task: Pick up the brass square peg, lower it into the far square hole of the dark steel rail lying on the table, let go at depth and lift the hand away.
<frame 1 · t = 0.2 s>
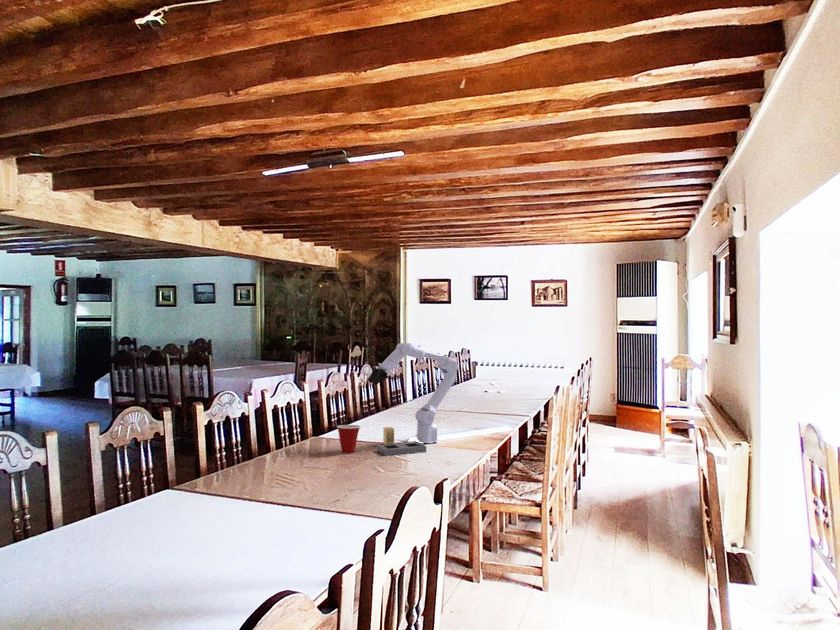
hand: (371, 382, 256), 30 cm above the table, tool tilted 45°, fingers open, 7 cm apart
brass peg: (388, 444, 261), on the table
steel rail: (401, 451, 247), on the table
plastic cup: (348, 452, 246), on the table
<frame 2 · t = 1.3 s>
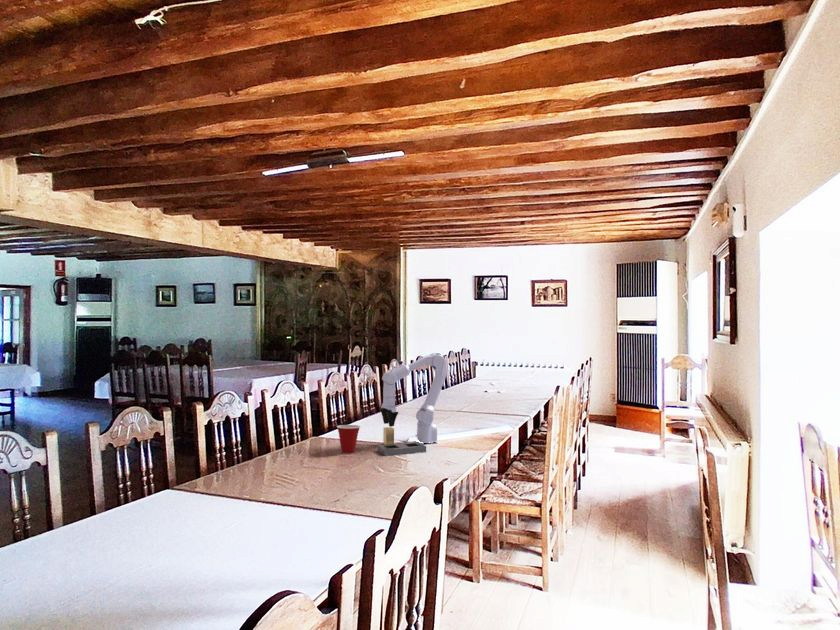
hand: (388, 424, 261), 9 cm above the table, tool pointing down, fingers open, 7 cm apart
nothing on the table moved.
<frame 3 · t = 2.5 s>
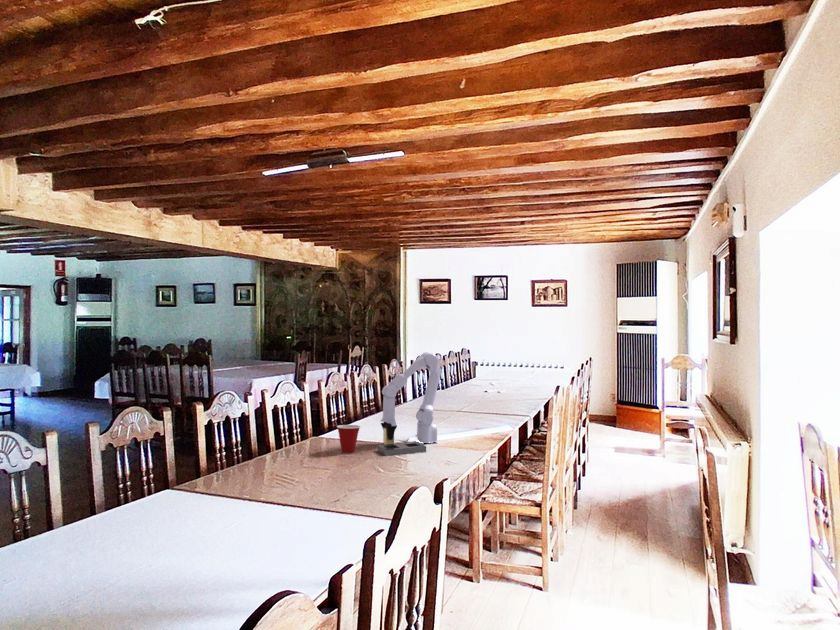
hand: (388, 438, 261), 3 cm above the table, tool pointing down, fingers closed on brass peg, 4 cm apart
brass peg: (388, 444, 261), on the table, touching gripper
everything else where it was.
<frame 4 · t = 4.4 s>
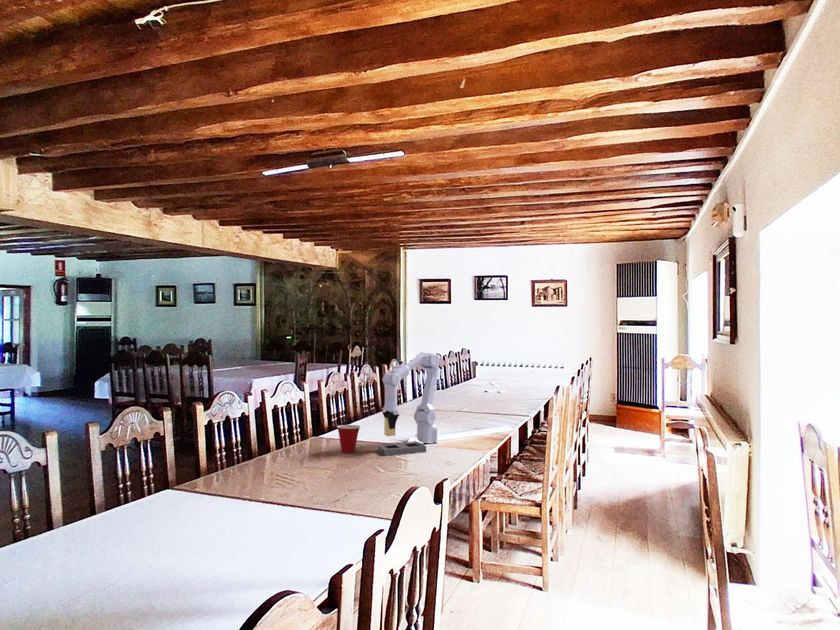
hand: (390, 427, 251), 10 cm above the table, tool pointing down, fingers closed on brass peg, 4 cm apart
brass peg: (389, 435, 251), point 7 cm above the table, touching gripper
everything else where it was.
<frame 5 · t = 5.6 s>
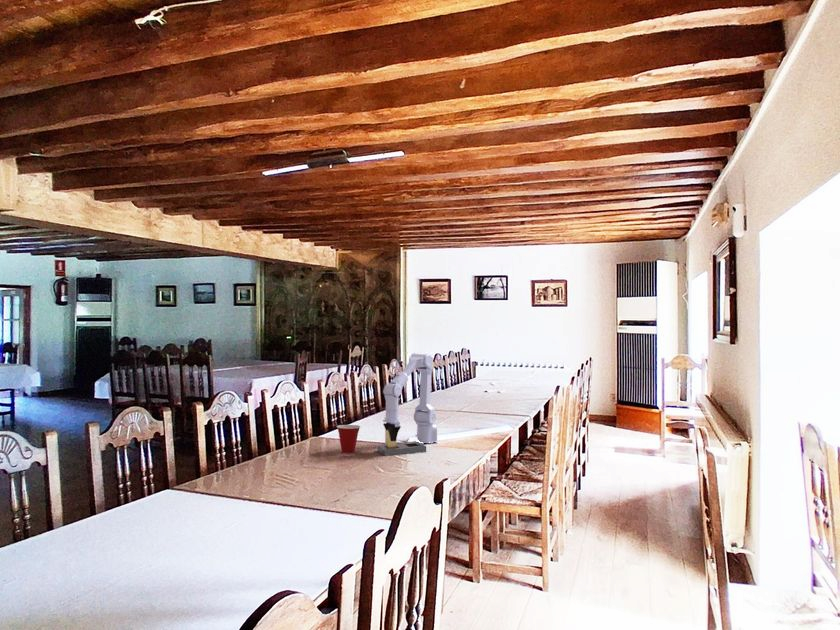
hand: (391, 440, 246), 6 cm above the table, tool pointing down, fingers closed on brass peg, 4 cm apart
brass peg: (390, 447, 245), point 2 cm above the table, touching gripper
everything else where it was.
when the fingers open (4 cm above the table, at t = 6.3 s): brass peg stays where it is, resting in steel rail.
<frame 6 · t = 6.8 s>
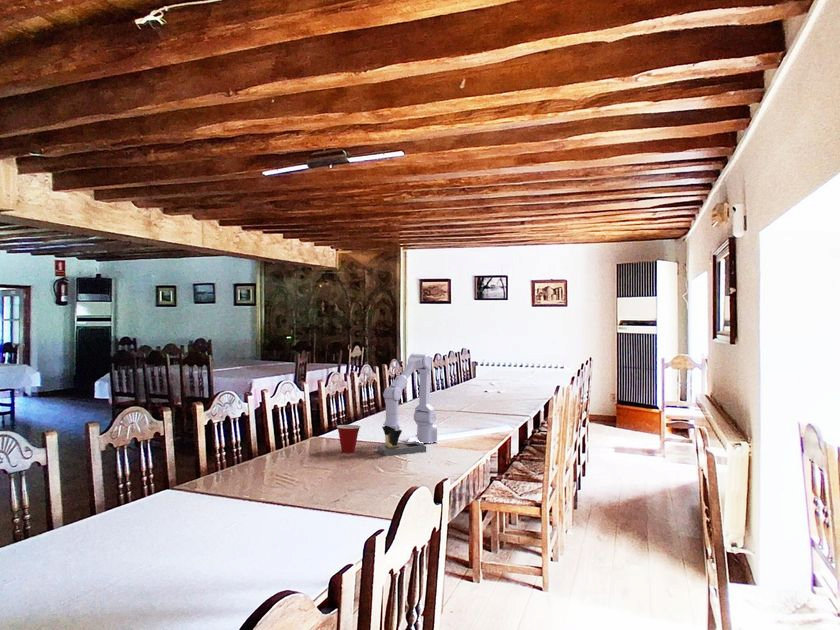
hand: (391, 443, 246), 4 cm above the table, tool pointing down, fingers open, 7 cm apart
brass peg: (390, 452, 245), resting in steel rail
everything else where it was.
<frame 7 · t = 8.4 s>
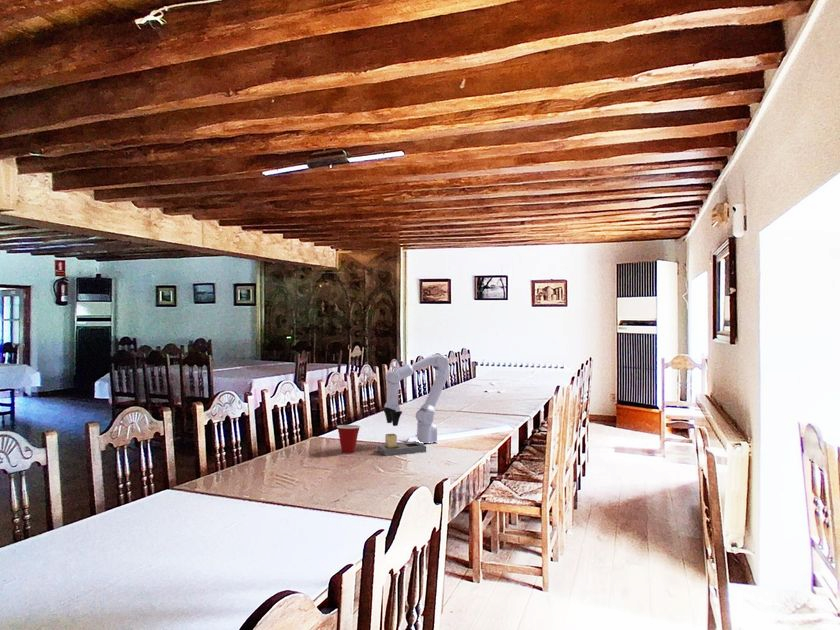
hand: (392, 424, 260), 10 cm above the table, tool pointing down, fingers open, 7 cm apart
nothing on the table moved.
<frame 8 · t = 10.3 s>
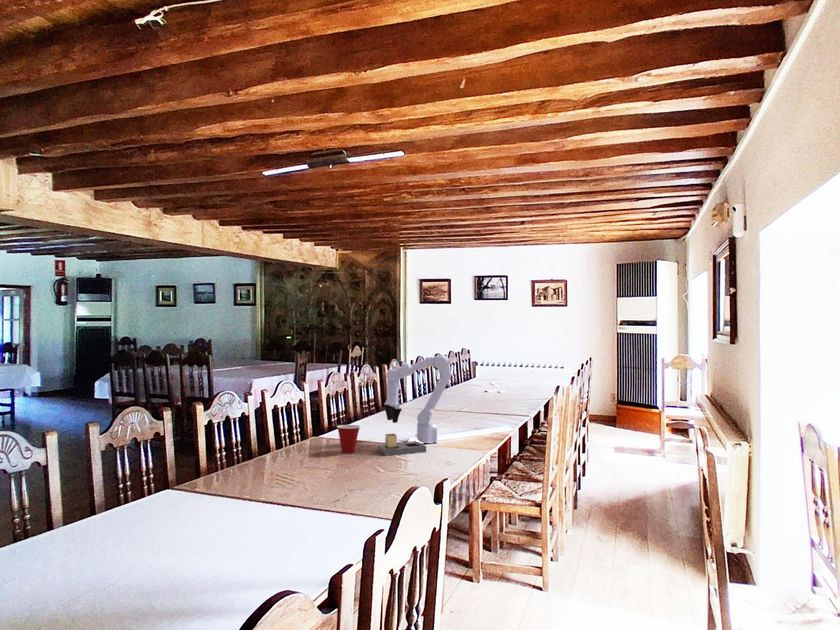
hand: (392, 421, 268), 10 cm above the table, tool pointing down, fingers open, 7 cm apart
nothing on the table moved.
at the end: brass peg 0.3 cm from the target spot on the steel rail, point 0.0 cm above the steel rail's base; brass peg tilted 0°; the gripper is holding nothing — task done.
